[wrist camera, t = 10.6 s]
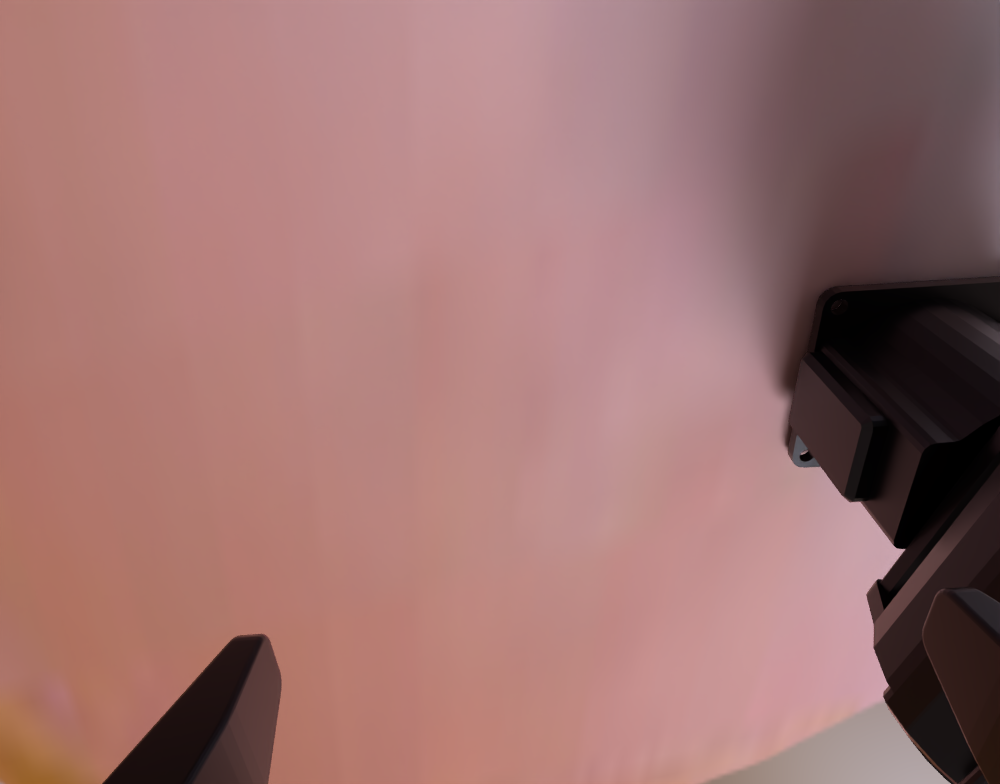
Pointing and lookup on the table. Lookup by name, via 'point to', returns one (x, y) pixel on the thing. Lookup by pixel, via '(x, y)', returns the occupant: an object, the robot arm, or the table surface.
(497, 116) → the table surface
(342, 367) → the table surface
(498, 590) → the table surface
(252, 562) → the table surface
